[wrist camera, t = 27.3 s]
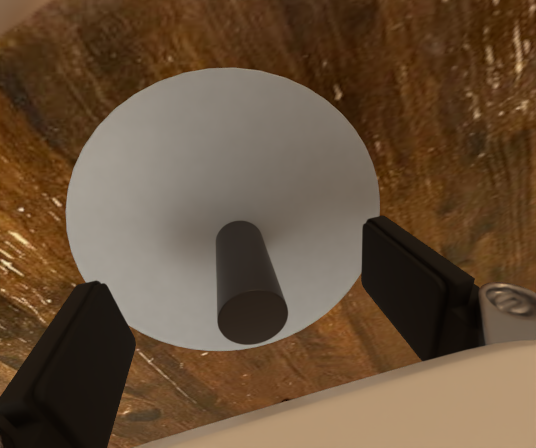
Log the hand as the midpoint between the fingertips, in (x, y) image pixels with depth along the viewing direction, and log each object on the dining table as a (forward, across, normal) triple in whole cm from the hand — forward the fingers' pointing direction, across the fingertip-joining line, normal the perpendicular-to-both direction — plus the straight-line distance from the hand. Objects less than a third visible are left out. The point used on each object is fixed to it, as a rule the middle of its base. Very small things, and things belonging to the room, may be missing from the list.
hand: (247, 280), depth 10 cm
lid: (+5, 0, +1) cm, 5 cm away
